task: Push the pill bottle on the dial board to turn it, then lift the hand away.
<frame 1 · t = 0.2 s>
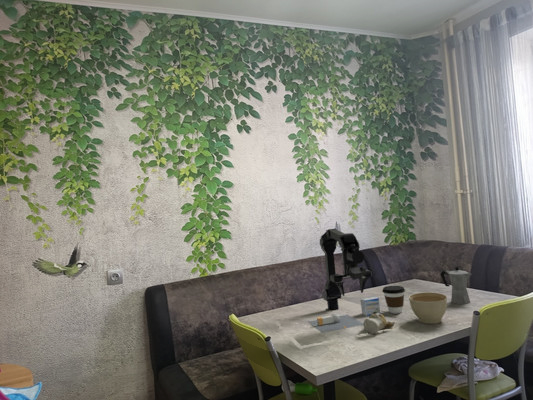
hand: (352, 294, 183), 14 cm above the table, fingers open, 9 cm apart
pill bottle: (328, 319, 186), point 3 cm above the table, hinge at 0.0°
planter bowl: (430, 321, 179), on the table
coffeepot: (458, 301, 203), on the table
dial board: (335, 325, 186), on the table
coffee cup: (395, 312, 197), on the table
ceramic sculpture: (377, 331, 174), on the table
medicine box: (371, 316, 195), on the table
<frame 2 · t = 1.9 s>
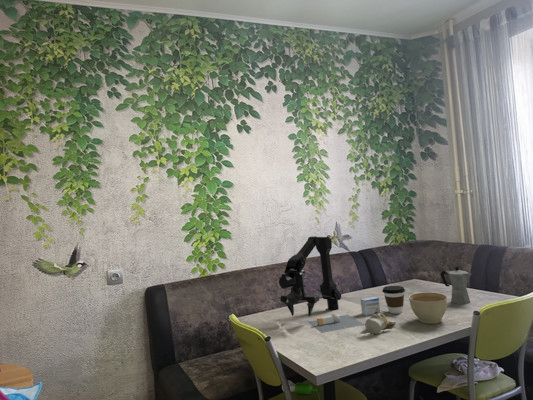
hand: (301, 316, 191), 5 cm above the table, fingers open, 9 cm apart
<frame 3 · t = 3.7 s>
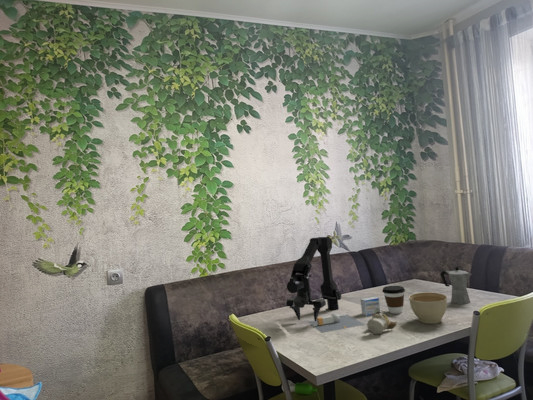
hand: (307, 320, 190), 3 cm above the table, fingers open, 8 cm apart
pill bottle: (328, 319, 186), point 3 cm above the table, hinge at 0.5°, touching gripper
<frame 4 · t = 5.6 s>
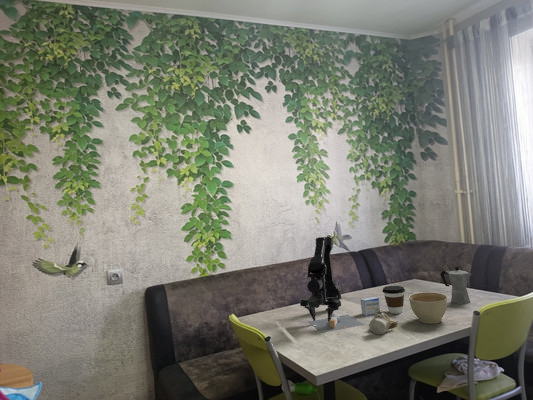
hand: (321, 321, 185), 3 cm above the table, fingers open, 7 cm apart
pill bottle: (334, 320, 184), point 3 cm above the table, hinge at 56.1°, touching gripper
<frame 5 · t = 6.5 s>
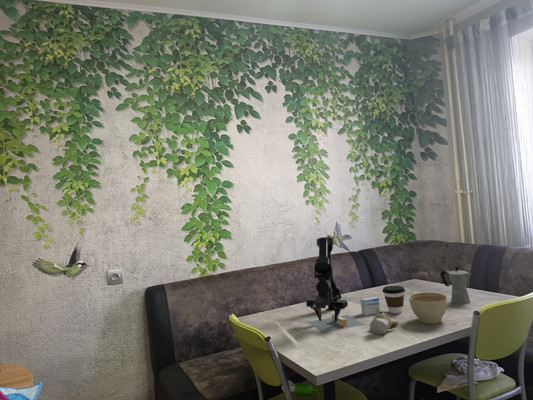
hand: (328, 321, 184), 3 cm above the table, fingers open, 7 cm apart
pill bottle: (339, 320, 184), point 3 cm above the table, hinge at 93.7°, touching gripper
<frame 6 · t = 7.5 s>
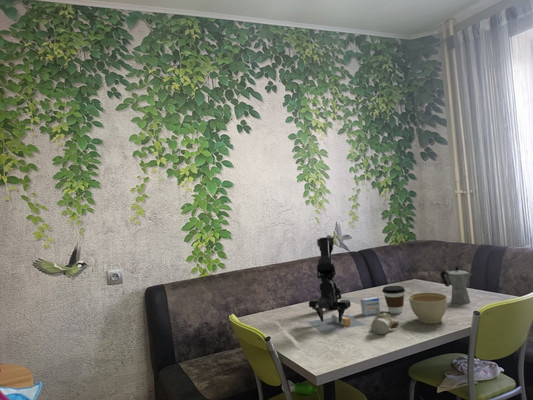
hand: (331, 322, 183), 3 cm above the table, fingers open, 8 cm apart
pill bottle: (340, 319, 184), point 3 cm above the table, hinge at 106.3°, touching gripper
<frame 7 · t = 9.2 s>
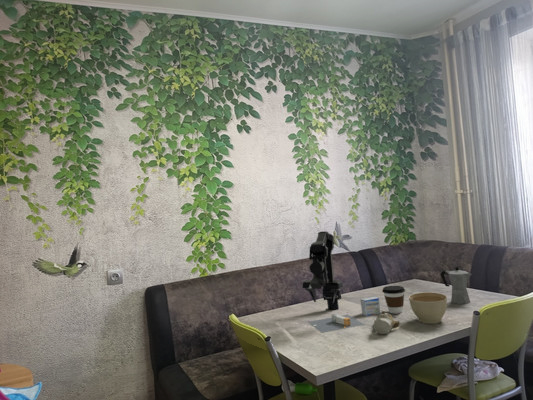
hand: (324, 302, 188), 11 cm above the table, fingers open, 9 cm apart
pill bottle: (340, 319, 184), point 3 cm above the table, hinge at 106.9°
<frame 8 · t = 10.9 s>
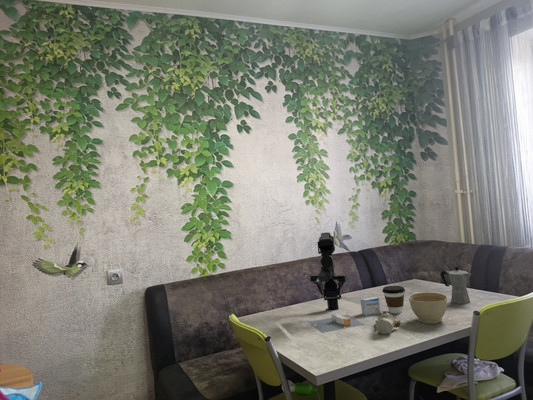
hand: (330, 295, 196), 12 cm above the table, fingers open, 9 cm apart
at the end: pill bottle at +107° (first picture: +0°) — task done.
